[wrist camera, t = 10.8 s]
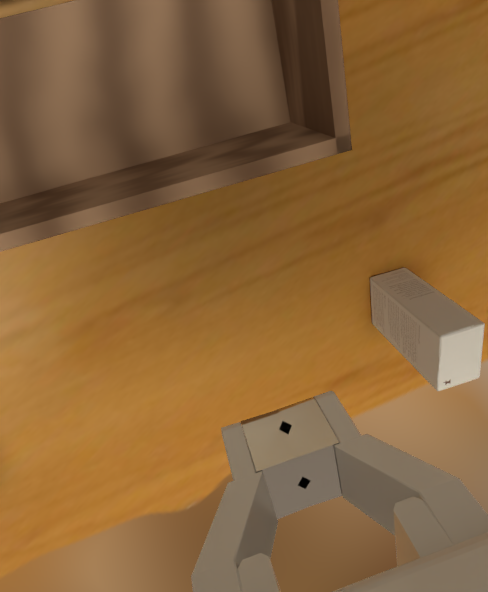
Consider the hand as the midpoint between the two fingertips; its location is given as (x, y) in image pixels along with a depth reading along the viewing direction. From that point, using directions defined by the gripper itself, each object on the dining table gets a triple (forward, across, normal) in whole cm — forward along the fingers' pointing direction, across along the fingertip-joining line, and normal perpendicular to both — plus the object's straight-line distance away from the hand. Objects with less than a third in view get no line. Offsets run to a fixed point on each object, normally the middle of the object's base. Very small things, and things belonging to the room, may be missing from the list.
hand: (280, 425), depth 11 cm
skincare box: (+29, -18, +18) cm, 39 cm away
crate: (+29, +2, -7) cm, 30 cm away
